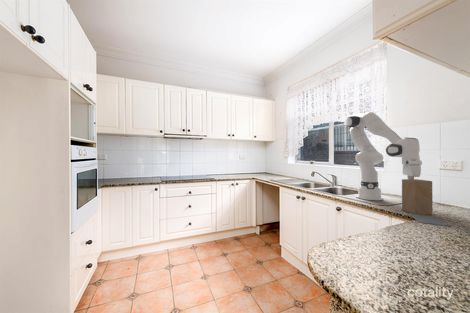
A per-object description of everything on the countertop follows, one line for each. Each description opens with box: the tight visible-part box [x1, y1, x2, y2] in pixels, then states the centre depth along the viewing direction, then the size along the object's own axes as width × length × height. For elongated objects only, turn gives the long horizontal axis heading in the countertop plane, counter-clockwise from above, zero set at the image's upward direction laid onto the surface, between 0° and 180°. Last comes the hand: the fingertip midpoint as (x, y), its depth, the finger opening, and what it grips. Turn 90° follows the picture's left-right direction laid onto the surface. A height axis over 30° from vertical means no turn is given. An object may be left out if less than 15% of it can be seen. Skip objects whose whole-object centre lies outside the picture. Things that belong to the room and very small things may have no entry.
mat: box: [407, 212, 453, 227], centre depth 106 cm, size 18×12×1 cm, turn 153°
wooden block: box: [401, 178, 434, 216], centre depth 120 cm, size 10×10×20 cm
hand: (410, 182), depth 129 cm, fingers closed
